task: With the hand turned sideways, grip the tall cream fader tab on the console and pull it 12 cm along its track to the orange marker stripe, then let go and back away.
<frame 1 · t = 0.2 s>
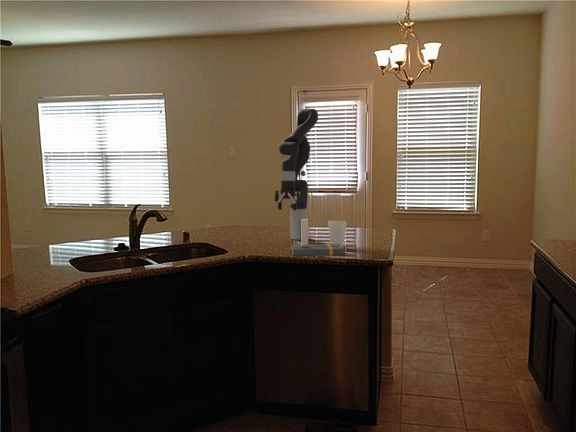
hand: (287, 210, 253), 18 cm above the table, tool pointing down, fingers open, 8 cm apart
console: (317, 252, 229), on the table
foam cup: (337, 246, 245), on the table
fader tab: (304, 232, 228), point 10 cm above the table, slide at -6.0 cm
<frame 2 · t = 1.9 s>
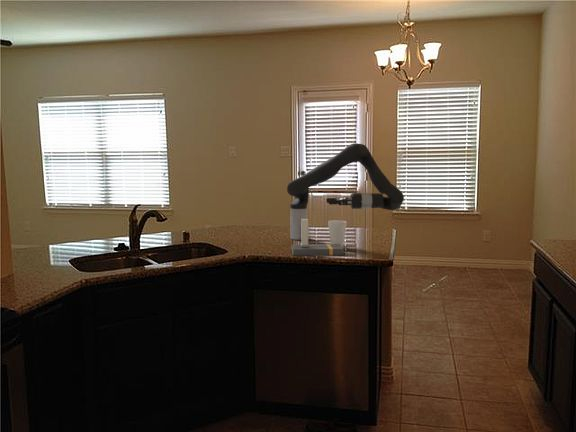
hand: (327, 201, 226), 25 cm above the table, tool horizontal, fingers open, 8 cm apart
nothing on the table moved.
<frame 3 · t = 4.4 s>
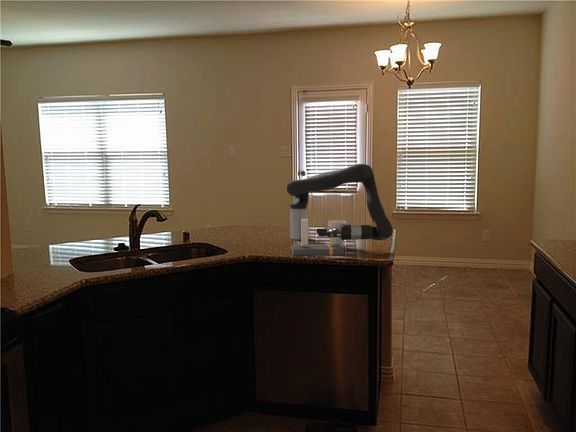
hand: (317, 232, 228), 10 cm above the table, tool horizontal, fingers open, 8 cm apart
nothing on the table moved.
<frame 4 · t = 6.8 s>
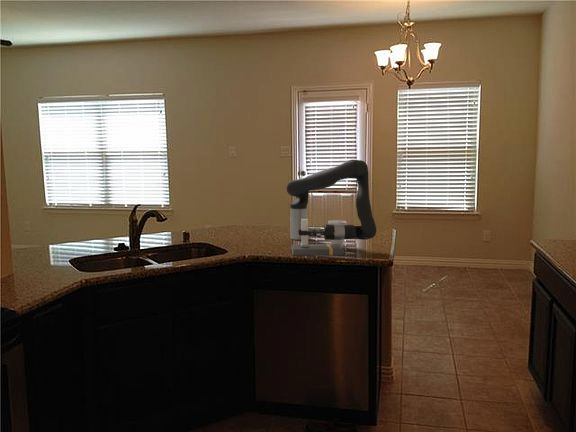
hand: (298, 232, 227), 10 cm above the table, tool horizontal, fingers closed on fader tab, 3 cm apart
fader tab: (304, 232, 228), point 10 cm above the table, slide at -6.0 cm, touching gripper
everything else where it was.
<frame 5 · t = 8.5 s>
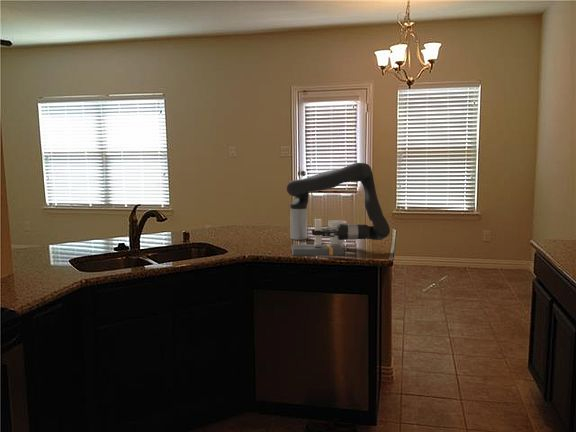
hand: (312, 232, 228), 10 cm above the table, tool horizontal, fingers closed on fader tab, 3 cm apart
fader tab: (318, 232, 228), point 10 cm above the table, slide at 0.5 cm, touching gripper
everything else where it was.
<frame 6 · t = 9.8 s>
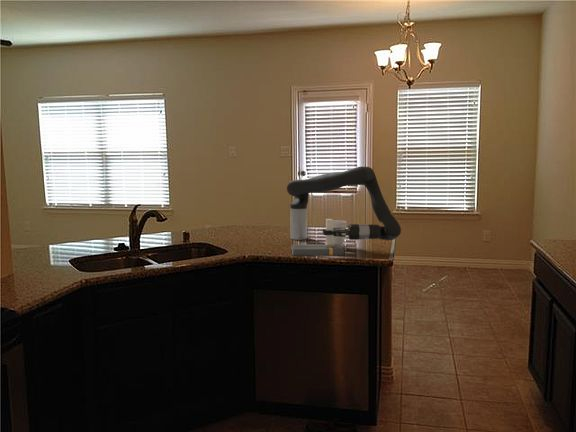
hand: (323, 232, 228), 10 cm above the table, tool horizontal, fingers closed on fader tab, 3 cm apart
fader tab: (329, 232, 228), point 10 cm above the table, slide at 5.9 cm, touching gripper
everything else where it was.
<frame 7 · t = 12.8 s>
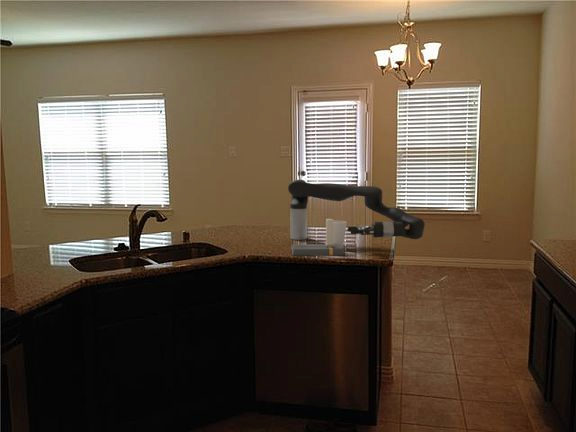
hand: (349, 230, 227), 11 cm above the table, tool horizontal, fingers open, 8 cm apart
fader tab: (329, 232, 228), point 10 cm above the table, slide at 6.0 cm
everything else where it was.
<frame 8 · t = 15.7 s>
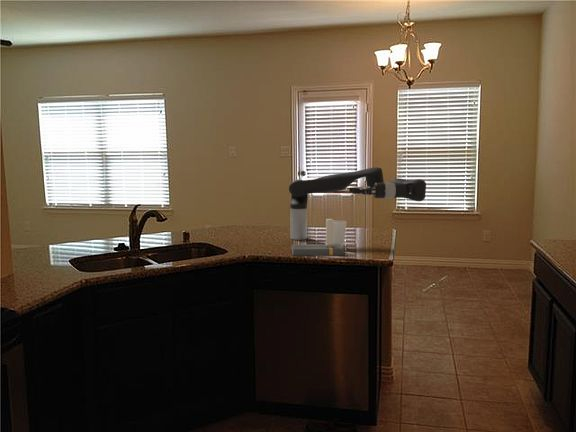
hand: (350, 190, 226), 30 cm above the table, tool horizontal, fingers open, 8 cm apart
nothing on the table moved.
at the end: fader tab slide at 6.0 cm; the gripper is holding nothing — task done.
